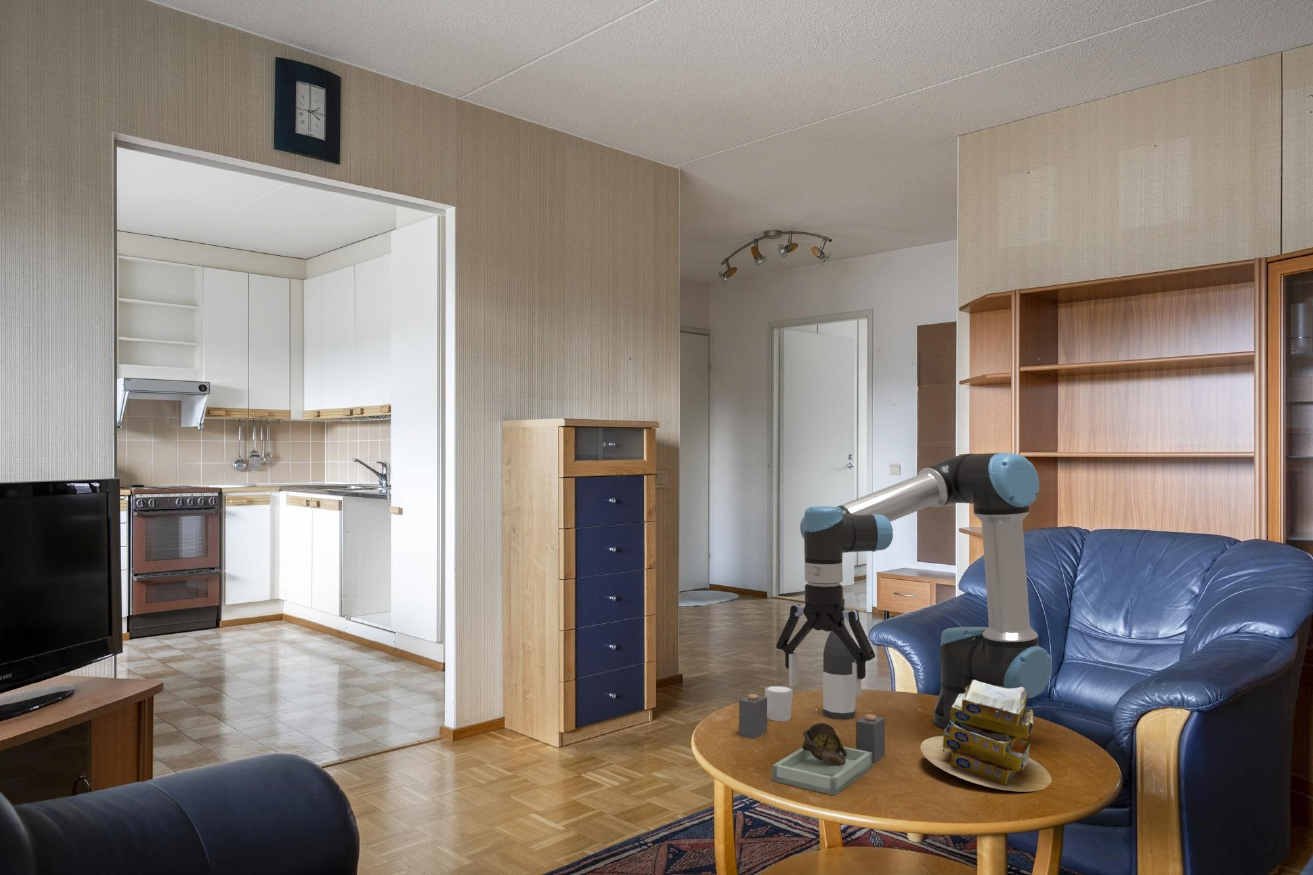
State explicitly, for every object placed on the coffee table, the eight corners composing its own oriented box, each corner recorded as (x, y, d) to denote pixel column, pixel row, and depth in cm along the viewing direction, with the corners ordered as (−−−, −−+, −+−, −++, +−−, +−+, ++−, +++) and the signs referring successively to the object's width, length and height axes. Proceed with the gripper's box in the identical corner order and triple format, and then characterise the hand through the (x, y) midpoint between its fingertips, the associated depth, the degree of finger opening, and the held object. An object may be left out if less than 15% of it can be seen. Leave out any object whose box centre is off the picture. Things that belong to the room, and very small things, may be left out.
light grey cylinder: (795, 722, 210) (795, 692, 211) (766, 721, 210) (766, 692, 211) (791, 713, 217) (791, 685, 217) (763, 713, 217) (763, 685, 218)
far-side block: (766, 732, 202) (767, 693, 203) (754, 738, 197) (754, 699, 198) (751, 729, 205) (751, 691, 205) (739, 735, 200) (739, 696, 200)
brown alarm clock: (857, 735, 181) (810, 717, 184) (853, 733, 169) (803, 714, 173) (847, 770, 179) (800, 751, 183) (842, 770, 168) (792, 750, 171)
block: (884, 755, 186) (884, 714, 187) (874, 763, 181) (874, 720, 182) (866, 752, 189) (866, 710, 189) (856, 759, 184) (856, 717, 184)
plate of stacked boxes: (1069, 771, 178) (1069, 687, 179) (1023, 804, 160) (1022, 711, 160) (952, 743, 195) (952, 668, 195) (898, 771, 177) (898, 687, 177)
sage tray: (872, 767, 179) (872, 752, 179) (834, 795, 163) (834, 779, 164) (813, 754, 186) (813, 740, 187) (772, 780, 171) (772, 765, 171)
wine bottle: (816, 715, 216) (816, 592, 217) (833, 708, 222) (833, 589, 223) (845, 721, 211) (845, 596, 212) (862, 714, 217) (862, 592, 218)
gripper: (759, 581, 180) (760, 685, 180) (876, 590, 166) (878, 703, 165) (776, 577, 186) (777, 677, 186) (890, 586, 172) (892, 694, 172)
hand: (824, 690), depth 176 cm, fingers open, 13 cm apart
